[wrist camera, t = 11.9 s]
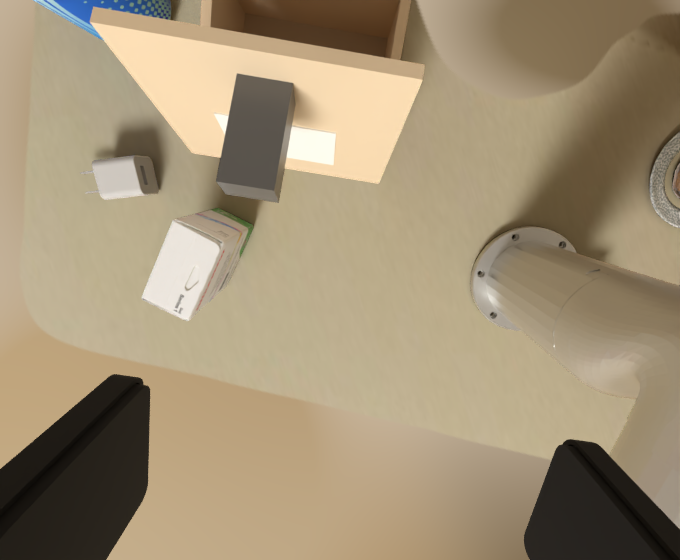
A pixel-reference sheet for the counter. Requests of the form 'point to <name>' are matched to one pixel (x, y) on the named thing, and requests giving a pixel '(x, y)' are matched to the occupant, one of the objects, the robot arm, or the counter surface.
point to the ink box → (196, 261)
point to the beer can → (78, 4)
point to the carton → (317, 22)
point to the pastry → (657, 178)
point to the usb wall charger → (124, 177)
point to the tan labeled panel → (266, 99)
